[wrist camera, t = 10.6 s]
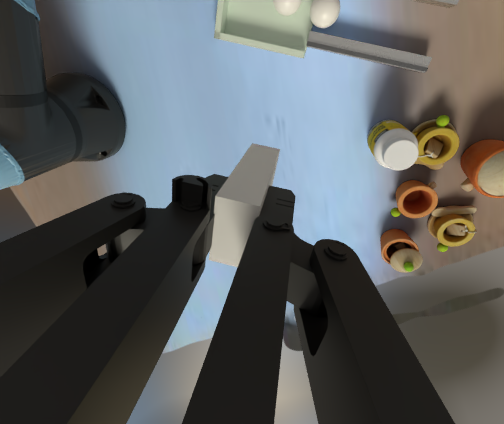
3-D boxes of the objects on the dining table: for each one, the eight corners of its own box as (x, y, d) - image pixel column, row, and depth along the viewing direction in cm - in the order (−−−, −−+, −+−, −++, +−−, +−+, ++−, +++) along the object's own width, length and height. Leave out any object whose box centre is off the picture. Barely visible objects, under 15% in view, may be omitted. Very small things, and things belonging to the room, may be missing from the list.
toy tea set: (412, 109, 40) (437, 121, 32) (530, 120, 38) (589, 136, 30) (365, 250, 53) (374, 285, 45) (451, 264, 51) (477, 304, 43)
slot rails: (306, 47, 39) (306, 46, 37) (327, -36, 34) (328, -43, 32) (419, 72, 38) (425, 72, 36) (457, -10, 33) (466, -16, 31)
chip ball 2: (318, 26, 38) (301, 26, 36) (325, -8, 36) (306, -11, 34) (341, 30, 36) (324, 29, 34) (349, -7, 34) (332, -10, 32)
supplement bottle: (376, 114, 41) (391, 128, 33) (411, 125, 41) (435, 141, 33) (360, 148, 44) (370, 168, 36) (393, 158, 44) (411, 181, 35)
